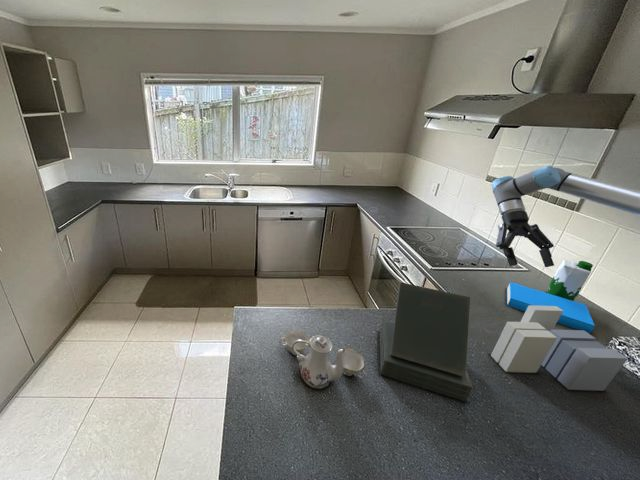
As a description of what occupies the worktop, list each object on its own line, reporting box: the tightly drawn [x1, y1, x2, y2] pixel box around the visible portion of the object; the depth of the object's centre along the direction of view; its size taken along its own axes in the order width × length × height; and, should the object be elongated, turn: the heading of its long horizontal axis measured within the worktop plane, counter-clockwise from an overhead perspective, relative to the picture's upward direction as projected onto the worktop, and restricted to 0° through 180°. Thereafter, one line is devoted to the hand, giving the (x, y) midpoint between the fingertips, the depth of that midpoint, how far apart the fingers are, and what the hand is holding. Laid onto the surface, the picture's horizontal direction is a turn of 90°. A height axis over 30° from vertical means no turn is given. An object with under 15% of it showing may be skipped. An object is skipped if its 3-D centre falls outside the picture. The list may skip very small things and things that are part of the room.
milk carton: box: [547, 259, 594, 301], centre depth 124 cm, size 9×9×20 cm
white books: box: [490, 321, 557, 374], centre depth 91 cm, size 6×10×15 cm, turn 90°
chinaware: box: [279, 329, 367, 390], centre depth 86 cm, size 28×17×17 cm, turn 70°
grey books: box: [541, 328, 629, 392], centre depth 88 cm, size 12×11×14 cm
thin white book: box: [520, 305, 563, 332], centre depth 101 cm, size 2×10×15 cm, turn 90°
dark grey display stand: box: [378, 281, 473, 402], centre depth 88 cm, size 23×20×25 cm
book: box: [506, 281, 595, 335], centre depth 120 cm, size 17×4×25 cm
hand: (531, 265), depth 103 cm, fingers open, 13 cm apart
